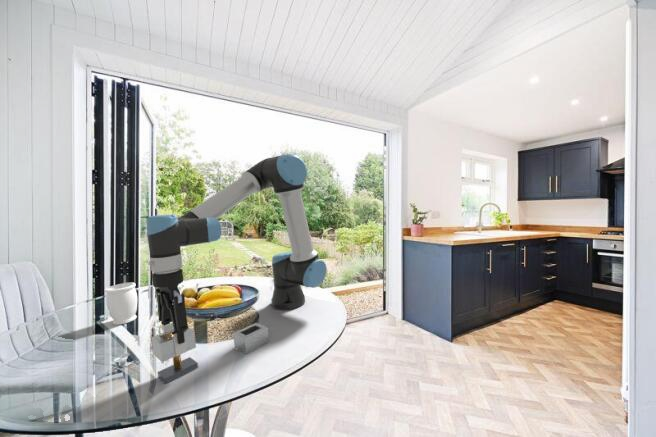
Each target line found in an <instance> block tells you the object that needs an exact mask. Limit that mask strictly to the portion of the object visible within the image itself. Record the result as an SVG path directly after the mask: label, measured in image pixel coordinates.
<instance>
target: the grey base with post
mask: <svg viewBox="0 0 656 437" xmlns="http://www.w3.org/2000/svg"><path fill="white" fill-rule="evenodd" d="M172 362H173V364H172V365H169V366H167V367H166V368H164V369H163V368H162V369H160V370H159V371H157V372H156V373H157V378H158V379H159V380H160V381H161V382H162V383H163V384H165V385H166V384H168V383H170V382H172V381H174V380H176V379H178V378H180V377H183V376H184V375H186V374H187V373H190V372H192V371H194V370H196V369H198V368H199V364H198V362H197V361H196V360H195V359H194V358H192V357H190V356H189V357H186V358H184V359H182V354H181V355H179V356H175V357H173V358H172Z"/></svg>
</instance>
